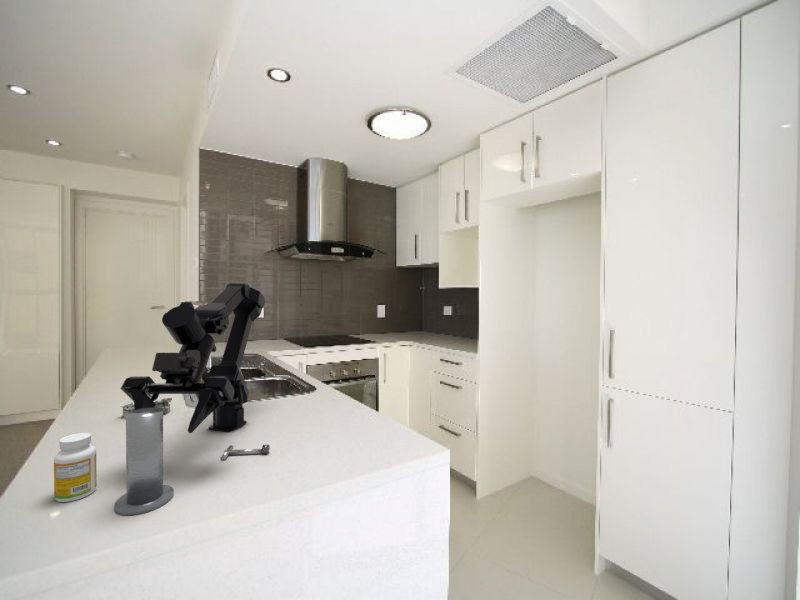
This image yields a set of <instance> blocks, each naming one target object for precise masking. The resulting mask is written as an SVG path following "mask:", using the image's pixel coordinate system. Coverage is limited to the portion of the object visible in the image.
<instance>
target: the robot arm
mask: <svg viewBox="0 0 800 600" xmlns="http://www.w3.org/2000/svg"><path fill="white" fill-rule="evenodd" d="M265 303H266V300H265V296H264V295H263V294H262V292H261V291H260V290H257V289H255V288H253V287H251V286H250V285H249V284H248V283H245V282H231V283H228V284H227V285H226V288H225V289H224V290H223V291H222V292H220V293H219V295H218V296H217V297H216V298H214V299H213V300H212V302H210V303H207V304H203V305H200V306H197V307H195V306H194V304H193V302H191V301H182V302H180V304H179V305H178V306H175V307H173V308H170V309H169V310H168V311H166V312H165V313H164V314H163V316H162V318H161V322H162V324H163V326H164V327H165V328H166V331H167V332H168V333H169V334H170V336H171V338H172V339H173V340H174V342H175V343H177V344H178V345H181V346H180V348H179V351H178V352H156V353H155V355H154V361H153V365H152V369H151V370H152V372H159V373H160V375H159V376H160V378H161V379H162V380H165V383H163V382H162V383H161V382H160V383H159V382H158V383H156V382H155V381H154V379H152V377H150V376H149V375H148V376H145V375H143V376H141V375H139V376H133V375H132V376H129V377H126V378H125V379H124V381H123V383H122V385H121V386H120V389H121V391H122V392H123V393H124V394H126V396H127V397H128V398H130V400H132V402H133V404H134V408H135V410H138V409H143V408H153V407H155V405H156V404H155V403H154V402H155V401H157V400H158V398H159V397H160V395H179V394H180V395H182V394H183V395H186V394H187V395H189V394H190V395H193V394H194V395H195V394H197V395H198V402H197V404H196V406H195V409H194V411H193V414H192V416H191V419H190V421H189V425H188V428H187V432H188V433H189V434H192V433H194V432H195V431H196V430H197V428H198V427H199V426H200V425H201V424H202V423H203V422H204V421H205V420H206V419H207V417H209V416H210V415H211V414H212V425H210V426H208V430H211V431H222V432H233V431H234V430H236V429H238V428H241V426H243V425H246V424H247V420H245V408H244V406H243V404H246V403H248V402H249V400H248V399H249V393H250V392H249V388H248V387H247V385H246V384H245V382H244V381H245V377H244V374H243V373H242V370H241V368H242V367H241V366H242V362H243V358H244V355H245V351H246V346H247V343H248V340H249V335H250V332H251V328H252V324H253V323H254V321H255V320H256V319H258V318H259V317H260V316H261V313H262V311H263V308H265V305H266V304H265ZM232 313H233V314H234V318H233V320H232V321H233V322H232V324H231V328H230V332H229V334H228V338H227V341H226V344H225V348H224V352H223V356H222V358H221V361H220V363H219V364H217V365H216V364H213V365H211V366H210V369H209V368H208V367H207V365H208V363H209V359H210V357H211V354H212V353H216V352H217V346H216V345H215V344H216V341H215V339H214V338H213V336H214V335H215V336H217V335H219V336H221V335H223V334H225V331H226V330H227V329H228V327H229V325H230V320H229V316H230V315H231V314H232ZM212 335H213V336H212ZM208 371H209V374H208ZM207 374H208V376H206V377H205V378H204V380H203V383H201V381H202V379H203V376H204V375H207Z"/></svg>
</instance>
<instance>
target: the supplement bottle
mask: <svg viewBox="0 0 800 600" xmlns="http://www.w3.org/2000/svg"><path fill="white" fill-rule="evenodd" d="M91 443H92V434H91V432H90V433H89V432H80V433H79V432H78V433H72V434H69V435H66V436H64V437H62V438H60V439H59V451H58V452H57V453H56V454H55V456H54V458H53V491H54V500H55V501H56V502H58V503H69V502H73V501H77V500H81V499H82V498H83V499H84V498H86V497H88V496H90V495H91V494H93V493H94V492H95V490H96V489H97V481H98V479H97V476H98V475H97V449H96V447H95V446H94V445H92V444H91Z"/></svg>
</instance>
